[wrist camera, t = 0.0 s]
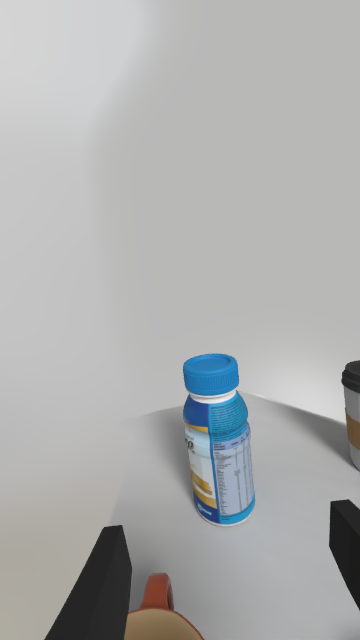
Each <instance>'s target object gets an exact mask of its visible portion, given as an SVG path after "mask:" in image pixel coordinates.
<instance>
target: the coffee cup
mask: <svg viewBox="0 0 360 640" xmlns="http://www.w3.org/2000/svg"><path fill="white" fill-rule="evenodd" d="M341 381H342V384H343V385H344V396H345V406H346V407H345V411H346V421H347V432H348V440H349V446H350V456H351V460H352V461H353V463H354V465H355V466H356V467H357V469H358V470H360V360H359V361H354V362H350V363H348V364H347V365H346V367H345V370H344V371H343V372H342V380H341Z"/></svg>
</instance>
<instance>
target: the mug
mask: <svg viewBox="0 0 360 640" xmlns="http://www.w3.org/2000/svg"><path fill="white" fill-rule="evenodd" d="M124 640H204V638H203V637H202V635H201V634H200V633H199V631H198V630H197V629H196V628H195V627H194V626H193V625H192V624H191V623H190V622H189V621H188V620H187V619H186V618H185V617H183V616H182V615H181V614H179V613H178V612H175V611H174V605H173V595H172V587H171V581H170V578H169V576H168V575H167V574H166V573H154V574H152V575H151V576H149V578H148V580H147V584H146V589H145V594H144V598H143V601H142V604H141V606H140V609H139V610H135V611H131V612H129V613H128V617H127V623H126V629H125V636H124Z"/></svg>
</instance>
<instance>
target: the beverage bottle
mask: <svg viewBox="0 0 360 640" xmlns="http://www.w3.org/2000/svg"><path fill="white" fill-rule="evenodd" d="M183 373H184V381H185V387H186V389H187V391H188V392H189V393H190V394H189V396H188V398H187V400H186V402H185V405H184V410H183V418H184V421H185V423H186V426H185V440H186V443H187V447H188V454H189V461H190V468H191V475H192V483H193V490H194V502H195V506H196V508H197V510H198V512H199V514H200V515H201V516H202V517H203V518H204V519H205V520H206V521H208V522H209V523H211V524H214V525H216V526H221V527H232V526H236V525H239V524H241V523H243V522H244V521H246V520H247V519H248V518H249V517H250V515H251V514H252V512H253V510H254V506H255V493H254V485H253V473H252V460H251V447H250V439H251V432H250V426H249V424H248V422H247V417H248V410H247V407H246V404H245V402H244V400H243V398H242V397H241V395H240V394H239V393H238V391H237V390H236V389H237V388H238V384H239V375H238V365H237V361H236V360H235V358H233V357H232V356H229V355H225V354H205V355H200V356H196V357H193V358H191V359H189V360H187V361H186V362H185V363H184V366H183Z"/></svg>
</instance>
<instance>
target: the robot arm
mask: <svg viewBox="0 0 360 640" xmlns="http://www.w3.org/2000/svg"><path fill="white" fill-rule="evenodd" d="M329 547H330V549H331V551H332V554H333V556H334V558H335V561H336V563H337V565H338V568H339V570H340V572H341V574H342V576H343V579H344V581H345V583H346V585H347V587H348V589H349V591H350V593H351V595H352V597H353V599H354V601H355V603H356V604H357V606H358V608H359V610H360V509H359V508H358V507H356V506H355V505H354V504H353V503H352V502H351V501H350V500H349V499H348V500H339V501H331V506H330V538H329ZM131 575H132V566H131V561H130V557H129V553H128V548H127V544H126V540H125V535H124V531H123V527H122V525H118V526H109V527H104V528H103V529H102V531H101V533H100V536H99V538H98V540H97V542H96V544H95V546H94V548H93V550H92V552H91V554H90V556H89V558H88V560H87V562H86V564H85V566H84V568H83V570H82V572H81V574H80V576H79V578H78V580H77V582H76V584H75V585H74V587H73V589H72V591H71V593H70V595H69V597H68V598H67V600H66V602H65V604H64V606H63V608H62V610H61V612H60V613H59V615H58V617H57V619H56V620H55V622H54V624H53V626H52V628H51V629H50V631H49V633H48V634H47V636H46V638H45V639H44V640H124V636H125V629H126V623H127V617H128V610H129V599H130V587H131Z"/></svg>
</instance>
